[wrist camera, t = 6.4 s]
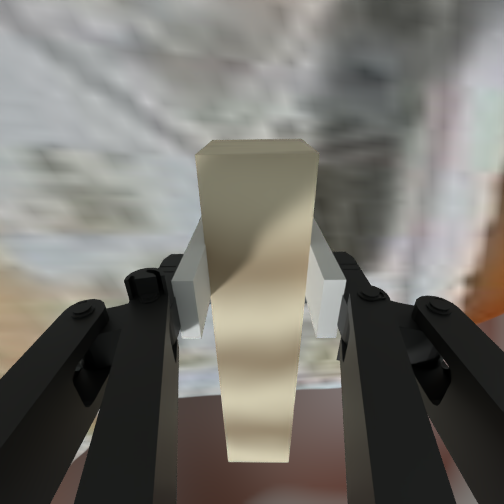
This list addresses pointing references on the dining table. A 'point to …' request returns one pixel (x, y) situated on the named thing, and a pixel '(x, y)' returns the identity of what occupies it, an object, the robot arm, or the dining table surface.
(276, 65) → the dining table surface
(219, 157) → the bar
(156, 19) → the dining table surface
